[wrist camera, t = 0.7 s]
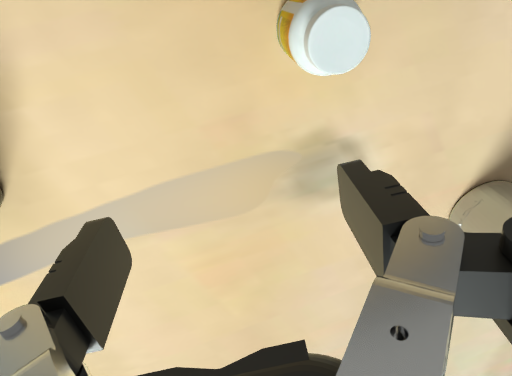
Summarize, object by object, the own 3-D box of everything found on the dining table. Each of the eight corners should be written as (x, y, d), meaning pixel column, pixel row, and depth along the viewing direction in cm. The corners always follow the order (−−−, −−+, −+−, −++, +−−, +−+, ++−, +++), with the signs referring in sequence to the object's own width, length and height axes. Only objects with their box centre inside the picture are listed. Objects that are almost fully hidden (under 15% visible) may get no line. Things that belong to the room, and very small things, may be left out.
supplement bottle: (305, -25, 27) (343, -33, 19) (348, 22, 29) (400, 34, 21) (262, 32, 29) (279, 47, 20) (305, 72, 31) (337, 101, 23)
